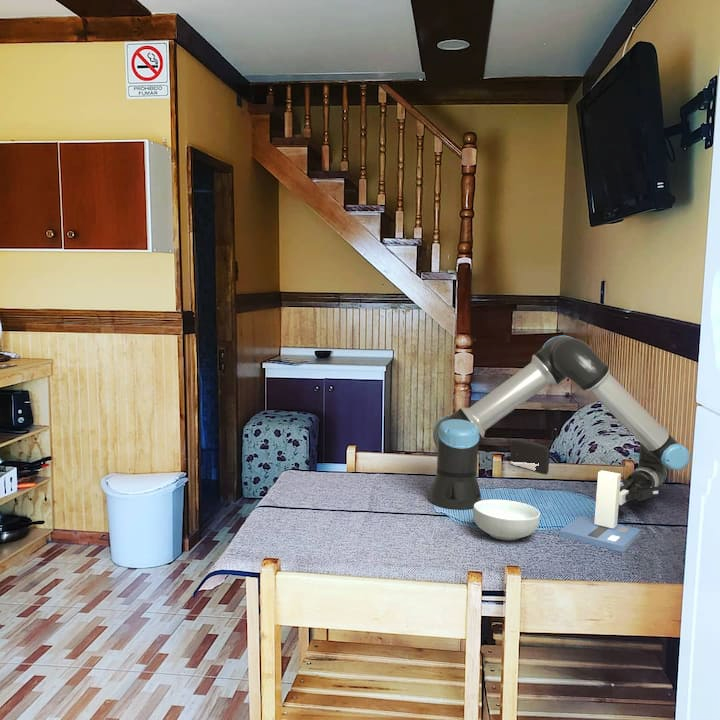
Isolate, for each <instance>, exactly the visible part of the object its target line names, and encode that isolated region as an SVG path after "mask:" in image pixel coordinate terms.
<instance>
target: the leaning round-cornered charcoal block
mask: <svg viewBox="0 0 720 720" xmlns="http://www.w3.org/2000/svg"><path fill="white" fill-rule="evenodd" d="M509 448H510V451H509V462H510V461H513V462H527V463H535V464H538V463H539V466H536V467H535V468H536V470H535V471H536V472H535V471H534V472H535V473H538V474H543V475H547V474H548V473H549V469H550V467H549V466H550V453H551V452H550V448H549V447H548V446H546V445H543V444H540V443H538V442H533V441H528V440H521V439H514V440H512V441H511V442H510V447H509Z"/></svg>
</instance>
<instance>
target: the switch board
mask: <svg viewBox="0 0 720 720" xmlns="http://www.w3.org/2000/svg"><path fill="white" fill-rule="evenodd" d="M594 521H595V517H590V516H589V517H588V516H584V515H580V516H578V517H577V518H575V519H574V520H572V521H571V522H570V523H569V524H567V525H565V526H564V527H562V528H561V529H560V530H558V532H559V533H558V537H561V538H565V539H569V540H572V541H576V542H581V543H585V544H589V545H593V546H597V547H599V548H603V549H607V550H608V549H609V550H613V551H617V552H620V553H624V552H625V551H626V550H627V549H628V548H630V546H631V545H633V543H634V542H636V541H637V539H638V538H639V537H640V536H641V535H642V529H641V528H636V527H632V526H628V525H623V524H619V523H617V526H616V527H615V528H614V529H613V528H608V527H604V526H600V525H596V524H594Z"/></svg>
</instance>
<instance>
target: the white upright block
mask: <svg viewBox="0 0 720 720" xmlns="http://www.w3.org/2000/svg"><path fill="white" fill-rule="evenodd" d="M621 477H622V473H618V472H613V471H608V470H602V469H601V470H599V471H598V472H597V485H596V496H595V497H596V498H595V511H594V519H595V521H594V524H596V525H600V526H604V527H608V528H613V529H614V528H615V527H616V526H617V524H618V518H619V506H620V505H619V495H620V488H621V487H620V482H622V481H621V480H622V478H621Z"/></svg>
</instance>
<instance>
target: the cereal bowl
mask: <svg viewBox="0 0 720 720" xmlns="http://www.w3.org/2000/svg"><path fill="white" fill-rule="evenodd" d="M472 509H473V510H472V512H473V513H472V514H473V521H474V523H475V525H477V527H478V528H479V529H480V530H482V531H483V532H485V533H487V534H489V536H490V537H491V538H493V539H497V540H501V541H516V540H519V539H520V538H524V537H525V538H526V537H528V536H531V535H532V534H533V533H534V532H535V531H536V530H537V529H538V527H539V524H540V519H541V513H540V511H539V509H537V508H536V507H535V506H532V505H530V504H528V503H523V502H520V501H515V500H514V501H513V500H508V499H483V500H482V499H481V501H478V502H476V503H475V504H474V507H473V508H472Z"/></svg>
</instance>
